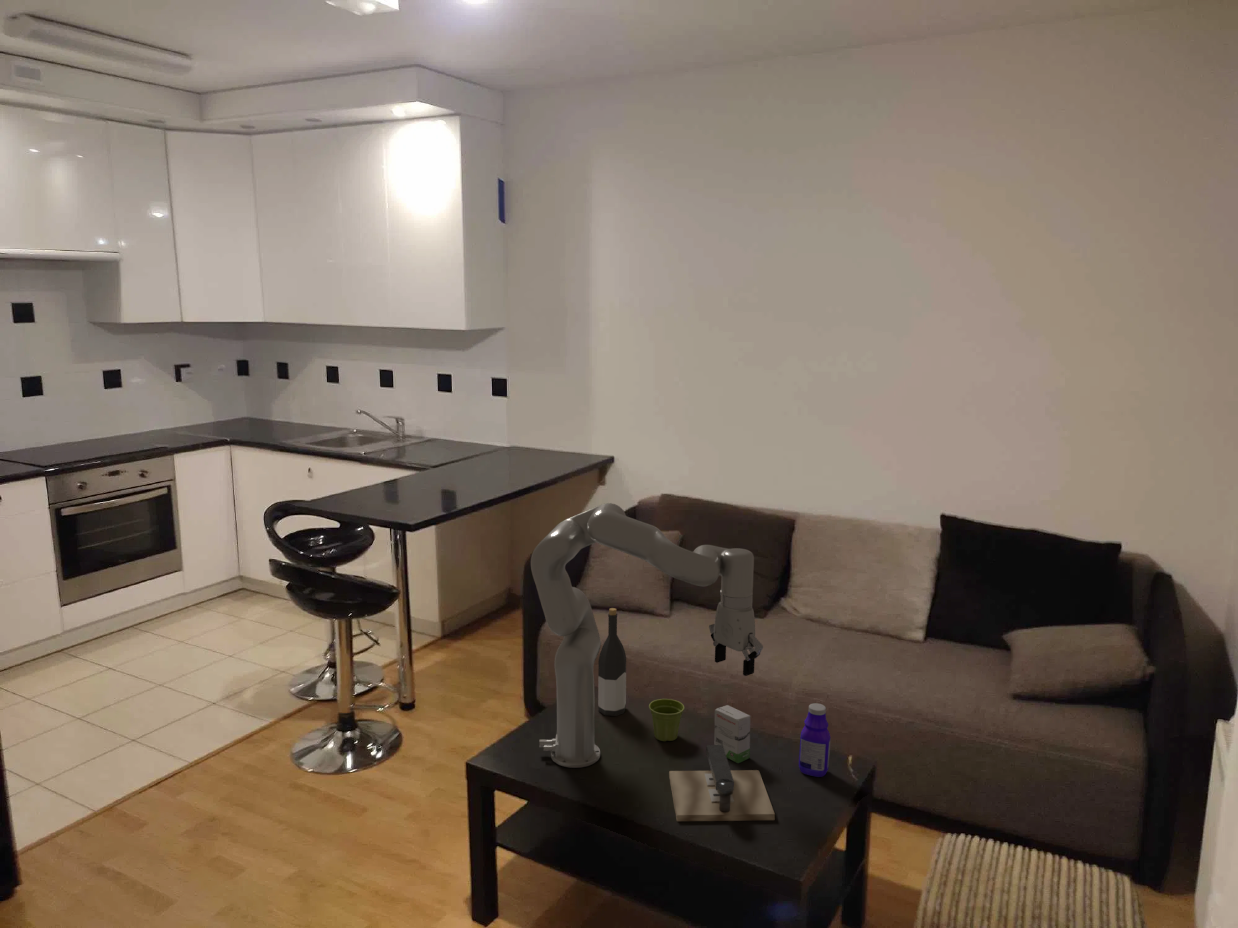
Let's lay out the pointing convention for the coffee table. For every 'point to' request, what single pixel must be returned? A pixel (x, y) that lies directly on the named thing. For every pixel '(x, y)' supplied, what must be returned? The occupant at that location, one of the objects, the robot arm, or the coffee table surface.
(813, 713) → the bottle
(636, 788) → the coffee table surface
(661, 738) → the plant pot
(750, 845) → the coffee table surface
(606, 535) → the robot arm
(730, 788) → the swing bar
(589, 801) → the coffee table surface
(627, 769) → the coffee table surface
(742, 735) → the ink box
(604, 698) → the wine bottle
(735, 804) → the label board
